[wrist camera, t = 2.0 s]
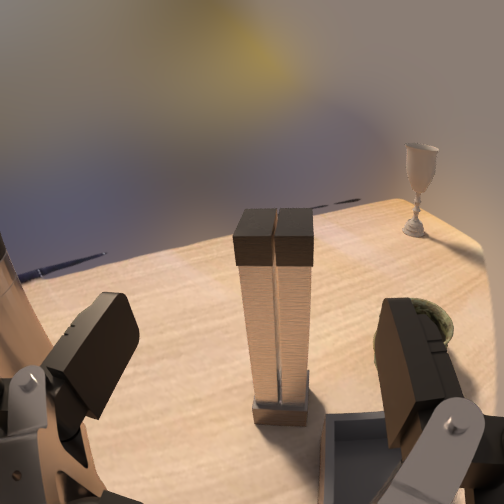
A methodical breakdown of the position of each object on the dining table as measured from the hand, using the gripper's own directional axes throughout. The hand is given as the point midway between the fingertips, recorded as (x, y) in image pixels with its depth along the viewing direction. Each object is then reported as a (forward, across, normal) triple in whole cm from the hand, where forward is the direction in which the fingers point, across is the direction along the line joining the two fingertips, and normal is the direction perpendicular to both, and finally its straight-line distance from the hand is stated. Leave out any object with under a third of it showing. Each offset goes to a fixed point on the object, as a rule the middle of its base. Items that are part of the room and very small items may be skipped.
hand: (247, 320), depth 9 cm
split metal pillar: (+11, 0, +22) cm, 24 cm away
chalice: (+51, -25, +22) cm, 61 cm away
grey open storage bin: (+2, -8, +22) cm, 23 cm away
